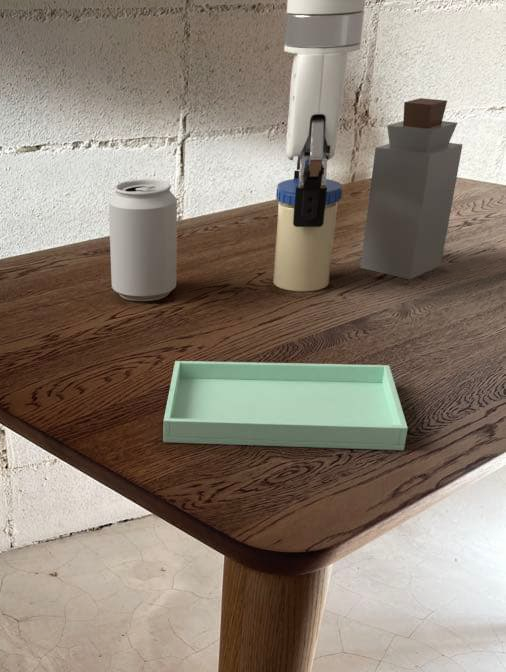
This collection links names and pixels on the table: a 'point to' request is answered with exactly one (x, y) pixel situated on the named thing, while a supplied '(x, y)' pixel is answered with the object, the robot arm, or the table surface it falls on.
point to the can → (143, 239)
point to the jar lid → (289, 186)
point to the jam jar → (303, 251)
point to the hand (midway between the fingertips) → (306, 215)
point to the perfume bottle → (411, 192)
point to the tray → (284, 405)
